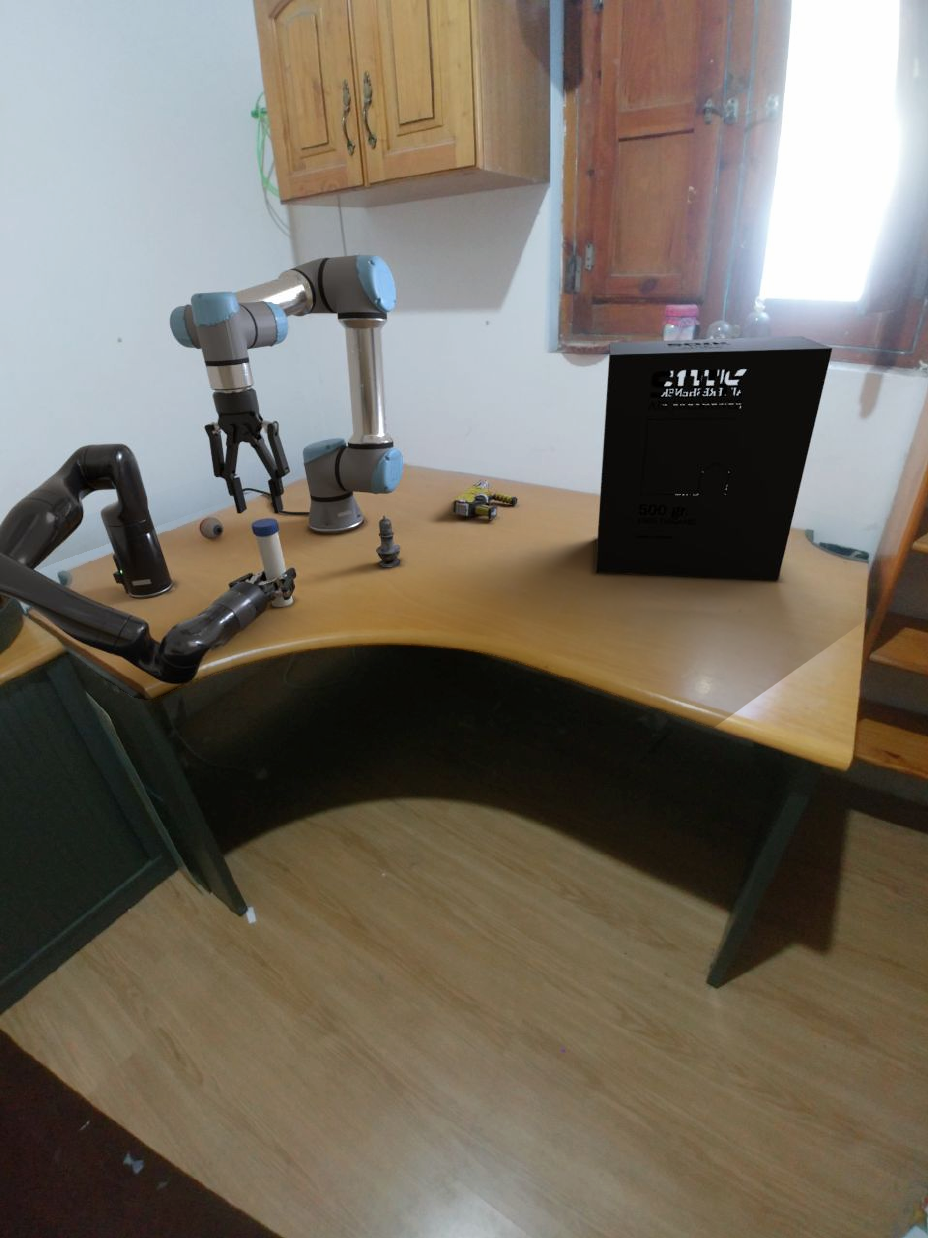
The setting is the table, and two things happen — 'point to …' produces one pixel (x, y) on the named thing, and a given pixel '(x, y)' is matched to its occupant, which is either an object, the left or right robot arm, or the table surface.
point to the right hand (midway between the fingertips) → (260, 510)
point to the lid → (265, 527)
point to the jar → (273, 562)
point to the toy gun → (480, 501)
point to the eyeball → (211, 528)
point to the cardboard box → (705, 455)
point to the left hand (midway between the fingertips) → (283, 570)
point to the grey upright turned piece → (387, 545)
